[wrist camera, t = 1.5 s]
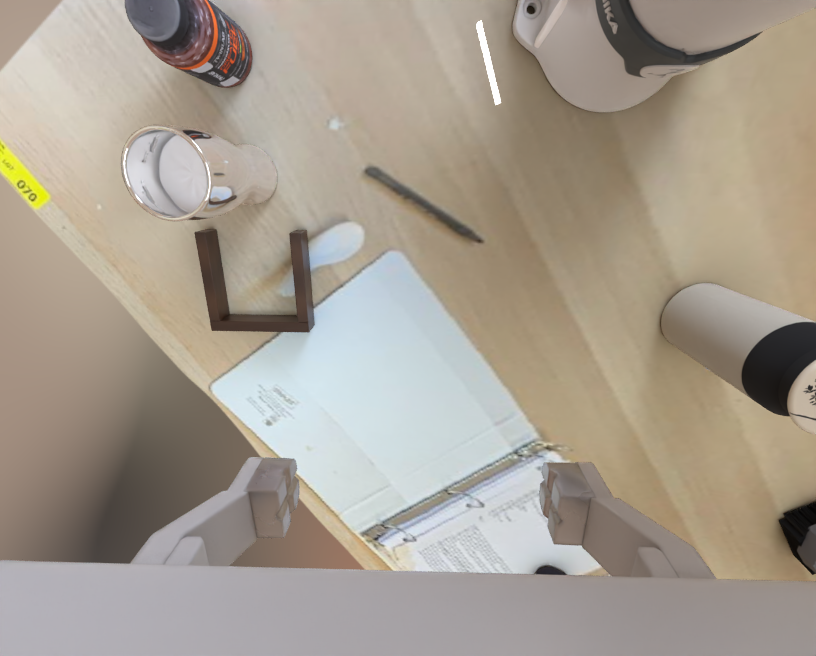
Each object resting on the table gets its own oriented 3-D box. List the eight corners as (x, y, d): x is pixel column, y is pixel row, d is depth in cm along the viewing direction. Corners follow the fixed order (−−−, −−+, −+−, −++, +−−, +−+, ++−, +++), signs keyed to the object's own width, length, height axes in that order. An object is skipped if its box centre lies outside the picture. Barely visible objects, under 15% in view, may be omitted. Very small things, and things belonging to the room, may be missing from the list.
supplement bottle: (256, 92, 41) (196, 62, 30) (196, 86, 41) (116, 54, 30) (253, 20, 39) (188, -39, 28) (191, 14, 39) (102, -47, 28)
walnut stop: (206, 229, 46) (194, 232, 43) (306, 230, 45) (300, 233, 43) (221, 323, 50) (211, 330, 47) (314, 325, 49) (309, 332, 47)
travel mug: (685, 271, 45) (839, 328, 28) (747, 297, 46) (933, 367, 29) (645, 334, 48) (764, 419, 31) (704, 357, 49) (852, 453, 32)
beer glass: (212, 196, 44) (113, 206, 30) (222, 129, 42) (121, 105, 28) (274, 217, 45) (206, 237, 31) (288, 152, 43) (221, 141, 29)
